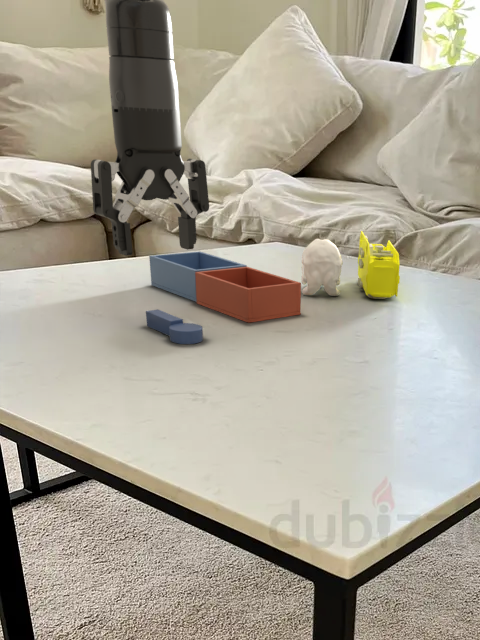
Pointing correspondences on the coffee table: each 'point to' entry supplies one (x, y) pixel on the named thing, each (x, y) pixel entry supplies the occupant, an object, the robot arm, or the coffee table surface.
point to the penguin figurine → (321, 267)
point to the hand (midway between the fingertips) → (157, 251)
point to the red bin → (248, 294)
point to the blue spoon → (174, 327)
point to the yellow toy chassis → (378, 269)
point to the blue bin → (184, 271)
